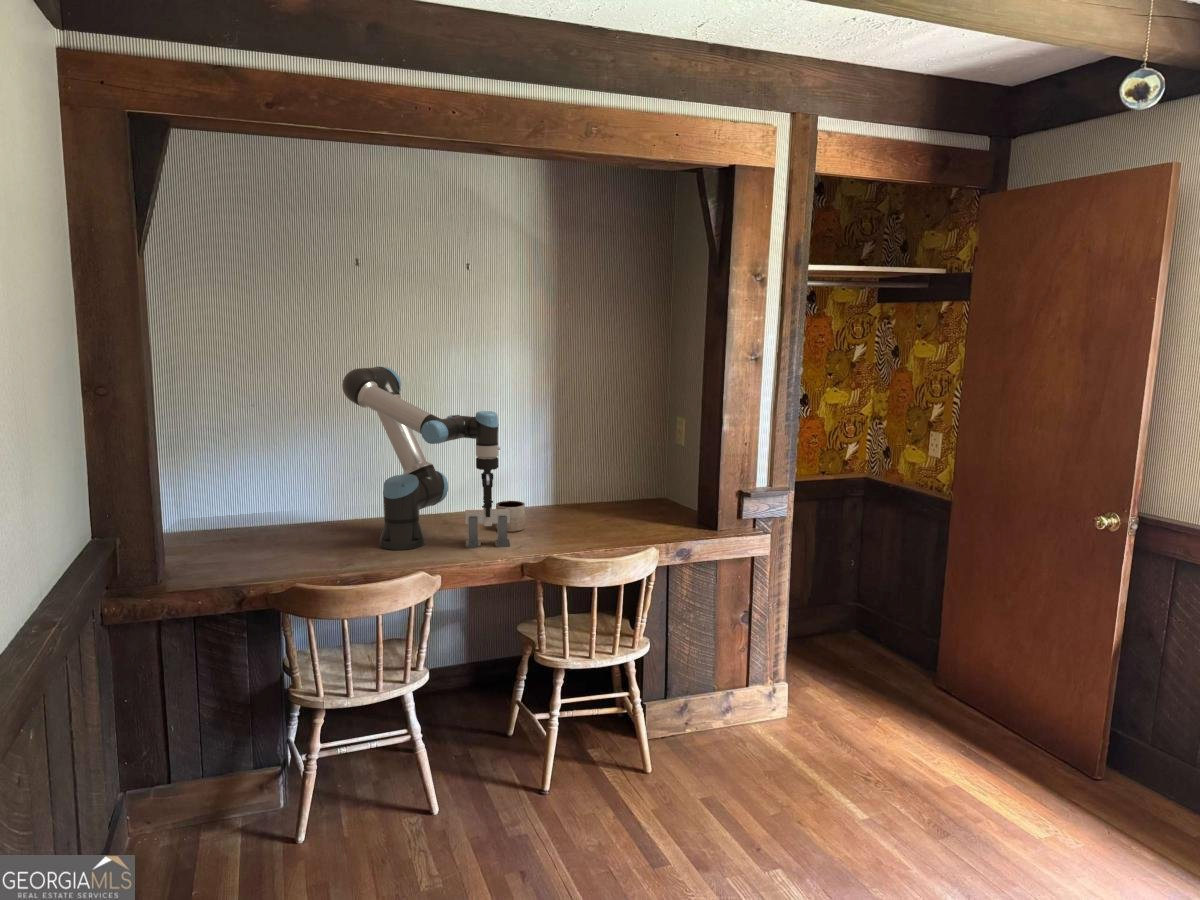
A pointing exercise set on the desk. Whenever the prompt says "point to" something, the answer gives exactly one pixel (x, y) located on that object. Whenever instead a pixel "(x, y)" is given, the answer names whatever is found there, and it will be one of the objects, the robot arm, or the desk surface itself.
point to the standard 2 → (502, 533)
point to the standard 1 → (473, 534)
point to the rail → (480, 515)
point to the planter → (513, 515)
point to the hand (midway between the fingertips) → (487, 523)
